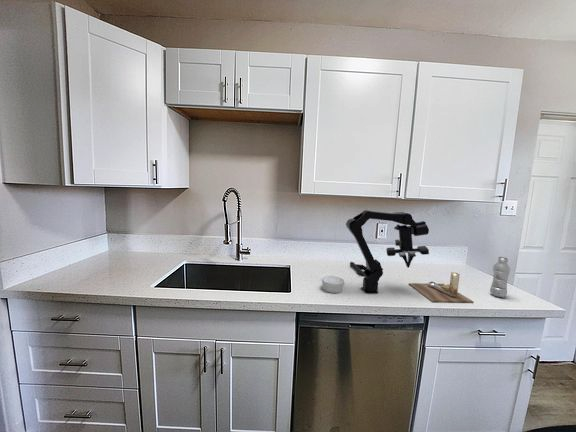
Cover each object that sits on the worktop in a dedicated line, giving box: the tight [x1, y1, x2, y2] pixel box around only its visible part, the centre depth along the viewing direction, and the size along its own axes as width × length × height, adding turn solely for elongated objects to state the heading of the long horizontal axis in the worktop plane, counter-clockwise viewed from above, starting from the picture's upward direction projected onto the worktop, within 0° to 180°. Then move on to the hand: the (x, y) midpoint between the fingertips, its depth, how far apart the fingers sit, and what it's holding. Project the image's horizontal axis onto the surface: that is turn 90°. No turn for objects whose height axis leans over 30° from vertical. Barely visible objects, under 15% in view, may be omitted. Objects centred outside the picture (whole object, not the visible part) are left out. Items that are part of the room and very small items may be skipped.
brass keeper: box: [441, 284, 450, 290], centre depth 125 cm, size 7×3×3 cm, turn 117°
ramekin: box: [321, 275, 345, 294], centre depth 125 cm, size 11×11×5 cm
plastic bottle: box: [489, 256, 511, 299], centre depth 123 cm, size 6×7×20 cm
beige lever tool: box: [427, 271, 460, 296], centre depth 125 cm, size 16×4×11 cm, turn 15°
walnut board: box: [408, 282, 475, 304], centre depth 126 cm, size 20×21×1 cm
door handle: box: [349, 261, 367, 277], centre depth 156 cm, size 3×20×16 cm
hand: (408, 267), depth 124 cm, fingers closed
